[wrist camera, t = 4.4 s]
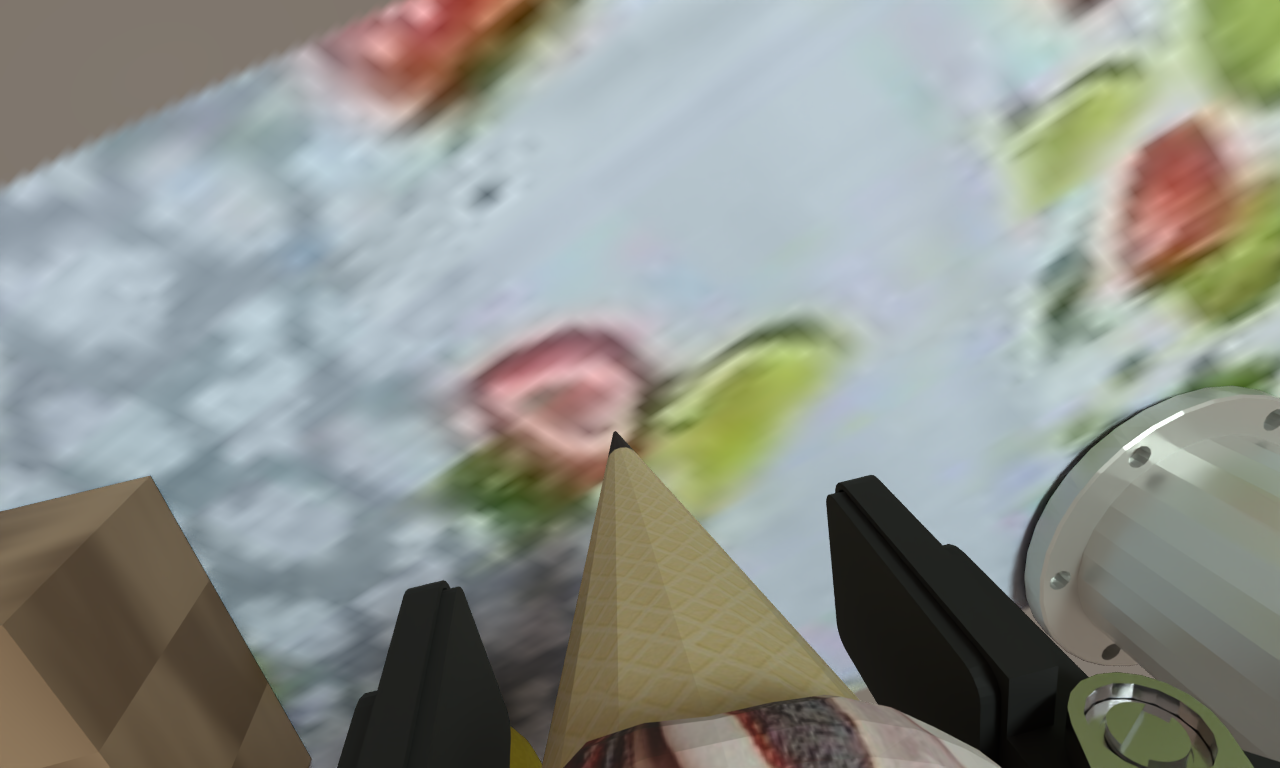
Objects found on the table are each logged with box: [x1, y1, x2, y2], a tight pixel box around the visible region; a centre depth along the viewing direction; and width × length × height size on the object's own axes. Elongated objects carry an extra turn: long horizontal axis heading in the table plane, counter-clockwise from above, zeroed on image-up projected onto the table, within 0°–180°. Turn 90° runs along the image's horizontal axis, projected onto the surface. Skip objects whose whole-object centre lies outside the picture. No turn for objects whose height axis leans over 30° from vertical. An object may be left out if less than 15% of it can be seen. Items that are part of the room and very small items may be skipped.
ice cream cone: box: [542, 431, 1001, 768], centre depth 9 cm, size 6×6×15 cm
